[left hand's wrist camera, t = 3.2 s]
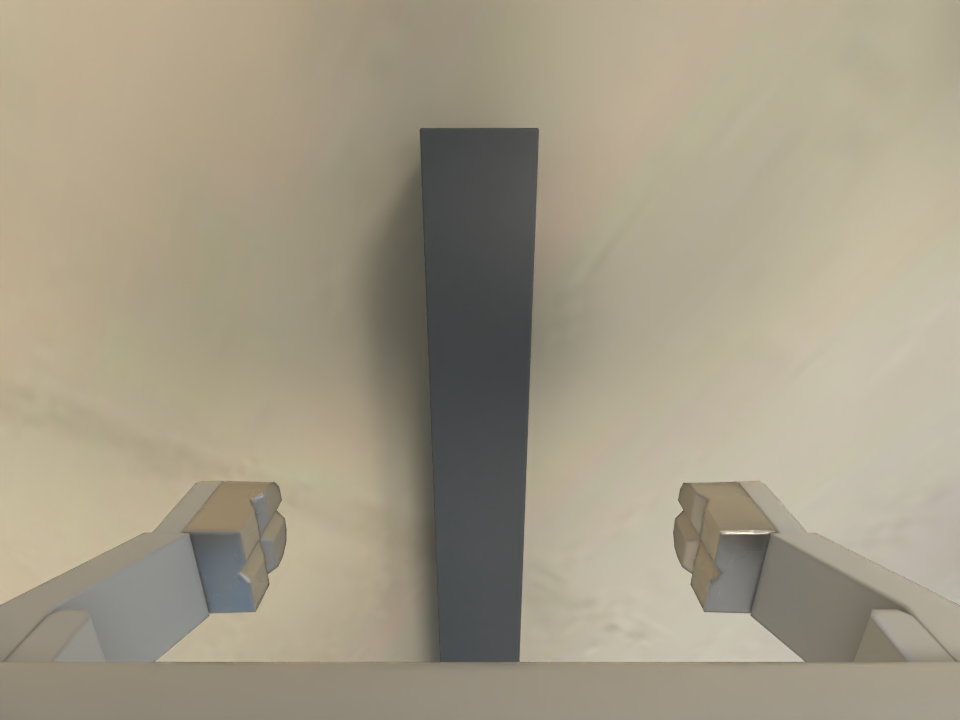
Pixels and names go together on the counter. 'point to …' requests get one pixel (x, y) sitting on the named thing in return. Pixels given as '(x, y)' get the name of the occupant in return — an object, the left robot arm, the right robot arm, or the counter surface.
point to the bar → (479, 376)
